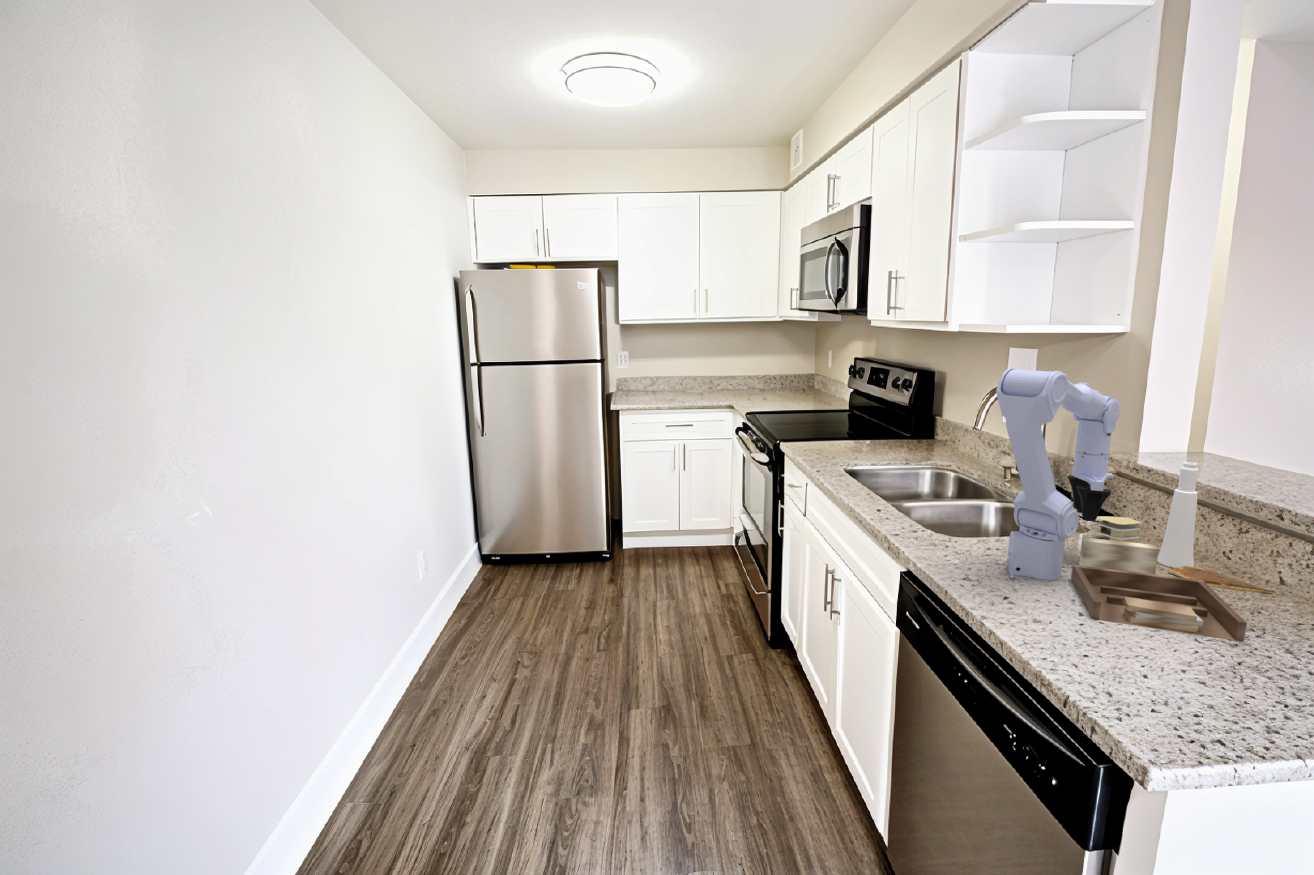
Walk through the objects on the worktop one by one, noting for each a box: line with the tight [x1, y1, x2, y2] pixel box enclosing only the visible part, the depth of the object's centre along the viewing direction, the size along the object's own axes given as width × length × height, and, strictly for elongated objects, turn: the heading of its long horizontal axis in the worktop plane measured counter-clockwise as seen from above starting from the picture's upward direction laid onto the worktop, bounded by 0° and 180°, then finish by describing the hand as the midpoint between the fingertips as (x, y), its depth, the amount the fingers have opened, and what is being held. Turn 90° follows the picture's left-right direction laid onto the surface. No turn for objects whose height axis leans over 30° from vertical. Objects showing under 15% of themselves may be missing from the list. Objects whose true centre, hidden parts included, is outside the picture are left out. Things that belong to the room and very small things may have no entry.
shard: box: [1167, 566, 1276, 595], centre depth 116 cm, size 13×9×2 cm
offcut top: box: [1123, 597, 1197, 622], centre depth 101 cm, size 9×4×1 cm, turn 61°
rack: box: [1070, 564, 1248, 642], centre depth 107 cm, size 20×17×4 cm
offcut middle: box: [1130, 611, 1203, 627], centre depth 101 cm, size 9×4×1 cm, turn 70°
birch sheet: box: [1078, 537, 1160, 575], centre depth 121 cm, size 12×2×7 cm, turn 66°
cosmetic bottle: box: [1157, 461, 1199, 569], centre depth 125 cm, size 6×6×22 cm
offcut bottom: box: [1124, 608, 1199, 633], centre depth 101 cm, size 9×4×1 cm, turn 66°
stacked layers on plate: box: [1097, 515, 1141, 543], centre depth 140 cm, size 10×9×6 cm
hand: (1084, 514), depth 128 cm, fingers open, 7 cm apart
